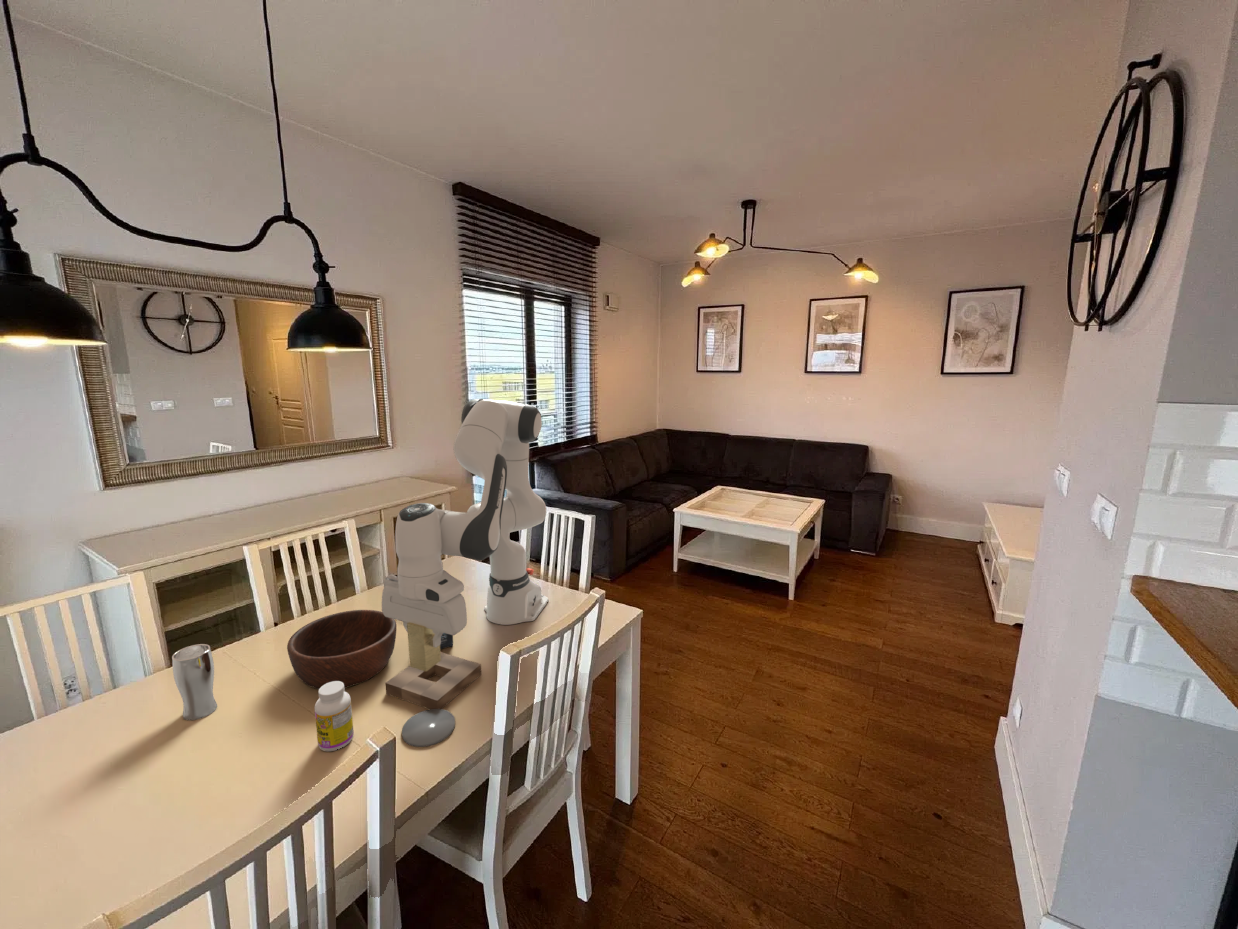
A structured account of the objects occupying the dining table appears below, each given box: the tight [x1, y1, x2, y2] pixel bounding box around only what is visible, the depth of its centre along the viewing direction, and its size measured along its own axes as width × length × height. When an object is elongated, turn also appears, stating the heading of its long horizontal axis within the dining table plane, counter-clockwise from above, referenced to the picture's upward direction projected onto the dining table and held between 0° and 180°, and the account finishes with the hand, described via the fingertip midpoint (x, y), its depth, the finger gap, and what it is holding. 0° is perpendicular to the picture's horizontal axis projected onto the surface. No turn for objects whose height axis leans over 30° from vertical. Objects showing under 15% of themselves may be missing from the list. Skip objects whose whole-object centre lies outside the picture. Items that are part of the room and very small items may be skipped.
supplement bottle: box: [314, 681, 354, 752], centre depth 106 cm, size 7×7×13 cm
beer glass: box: [171, 643, 218, 721], centre depth 114 cm, size 7×7×15 cm
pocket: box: [384, 651, 482, 710], centre depth 127 cm, size 16×16×3 cm
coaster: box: [401, 708, 456, 748], centre depth 112 cm, size 11×11×1 cm
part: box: [406, 622, 441, 671], centre depth 108 cm, size 4×4×10 cm
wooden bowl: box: [286, 609, 397, 690], centre depth 132 cm, size 25×25×10 cm
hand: (424, 642), depth 108 cm, fingers closed on part, 4 cm apart
